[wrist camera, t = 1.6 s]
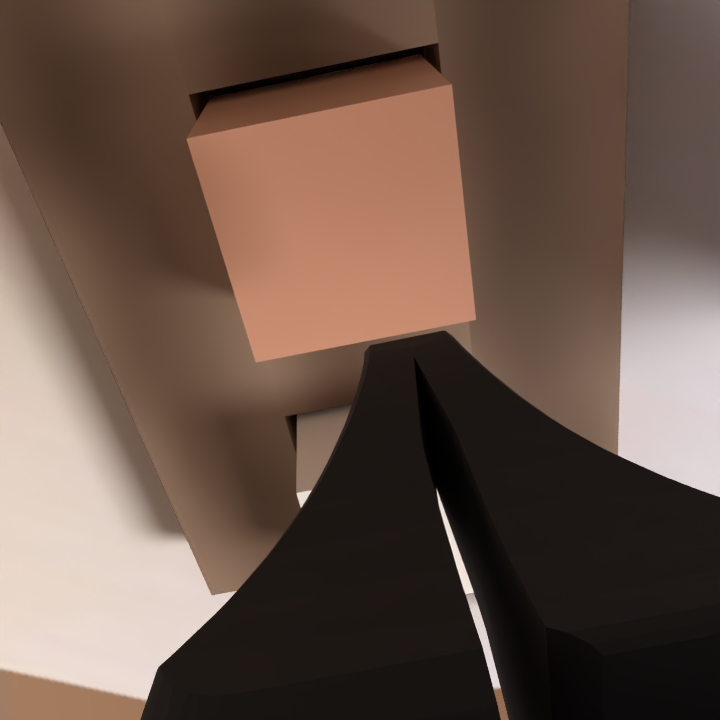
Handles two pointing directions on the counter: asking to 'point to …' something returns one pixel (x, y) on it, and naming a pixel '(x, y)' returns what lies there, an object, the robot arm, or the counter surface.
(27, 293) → the counter surface
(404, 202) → the key terracotta
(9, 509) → the counter surface
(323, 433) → the key cream
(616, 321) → the brown rectangular tray
